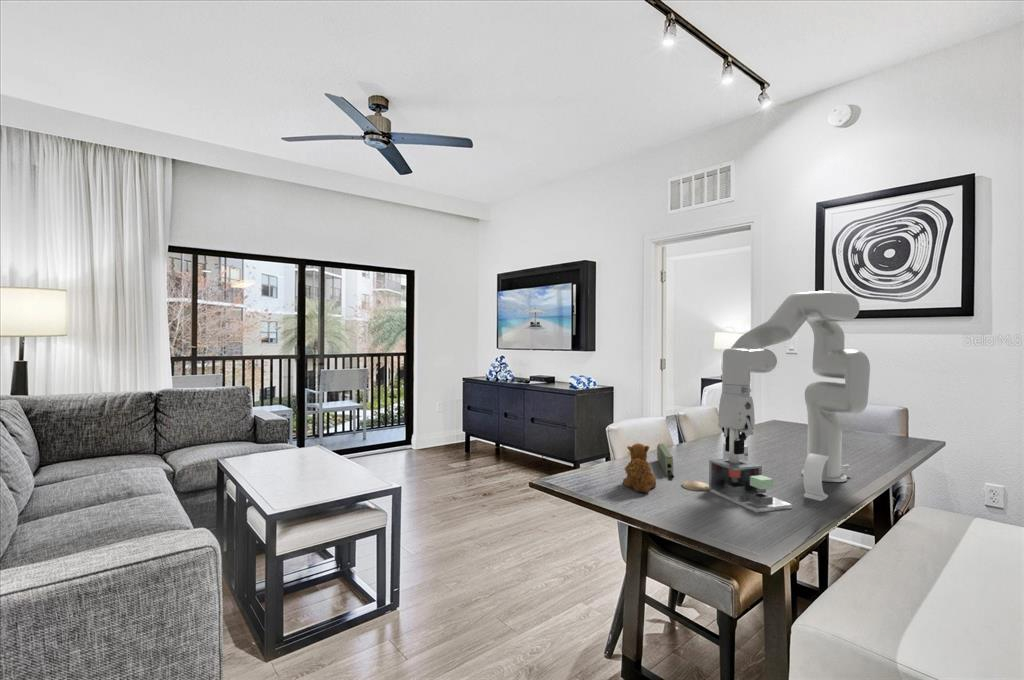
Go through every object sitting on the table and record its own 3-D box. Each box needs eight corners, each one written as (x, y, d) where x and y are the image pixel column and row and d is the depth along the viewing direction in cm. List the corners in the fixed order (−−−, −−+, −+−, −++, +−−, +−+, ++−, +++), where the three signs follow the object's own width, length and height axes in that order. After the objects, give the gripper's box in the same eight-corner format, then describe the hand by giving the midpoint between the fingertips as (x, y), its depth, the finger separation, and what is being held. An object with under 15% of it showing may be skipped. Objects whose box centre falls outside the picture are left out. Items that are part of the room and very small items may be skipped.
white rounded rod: (734, 464, 146) (735, 423, 146) (741, 466, 143) (742, 425, 143) (726, 464, 145) (727, 424, 145) (733, 467, 142) (734, 425, 142)
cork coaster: (698, 481, 155) (698, 480, 155) (715, 489, 148) (715, 487, 148) (676, 484, 153) (676, 482, 153) (693, 491, 145) (693, 489, 145)
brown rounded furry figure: (655, 482, 154) (656, 441, 154) (658, 497, 141) (659, 451, 140) (623, 480, 157) (623, 439, 156) (623, 494, 143) (623, 449, 143)
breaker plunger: (735, 479, 146) (735, 464, 146) (743, 482, 143) (743, 467, 143) (725, 480, 145) (726, 465, 145) (734, 483, 142) (734, 468, 142)
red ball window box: (737, 486, 151) (737, 456, 151) (791, 508, 132) (792, 474, 132) (705, 489, 148) (705, 459, 148) (756, 512, 129) (756, 478, 129)
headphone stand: (827, 497, 141) (828, 456, 141) (820, 502, 138) (821, 459, 137) (810, 493, 145) (810, 453, 145) (802, 497, 141) (803, 456, 141)
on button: (761, 489, 137) (761, 475, 137) (772, 493, 133) (773, 479, 133) (749, 490, 136) (750, 476, 136) (761, 495, 132) (761, 480, 132)
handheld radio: (666, 461, 182) (677, 480, 157) (657, 461, 182) (667, 480, 158) (665, 443, 182) (677, 460, 157) (656, 443, 182) (666, 460, 158)
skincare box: (733, 467, 173) (733, 446, 173) (722, 463, 179) (722, 443, 179) (748, 466, 175) (748, 446, 174) (736, 462, 180) (737, 442, 180)
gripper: (767, 393, 137) (766, 458, 137) (726, 387, 153) (725, 445, 153) (746, 393, 135) (744, 460, 135) (706, 387, 151) (705, 447, 151)
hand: (734, 452), depth 144 cm, fingers closed on white rounded rod, 2 cm apart
